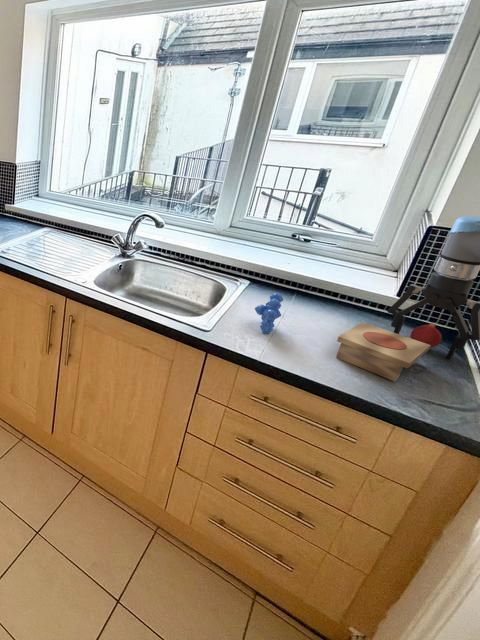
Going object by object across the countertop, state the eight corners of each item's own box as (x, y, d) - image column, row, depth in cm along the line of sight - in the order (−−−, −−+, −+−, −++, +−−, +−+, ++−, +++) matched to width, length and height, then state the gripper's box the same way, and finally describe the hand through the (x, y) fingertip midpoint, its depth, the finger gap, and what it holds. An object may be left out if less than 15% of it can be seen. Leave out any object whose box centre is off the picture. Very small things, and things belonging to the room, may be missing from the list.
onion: (405, 347, 118) (417, 323, 115) (406, 339, 122) (418, 315, 119) (434, 356, 114) (447, 331, 111) (435, 348, 118) (448, 324, 115)
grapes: (252, 317, 133) (262, 283, 128) (277, 324, 129) (289, 290, 124) (245, 332, 125) (257, 297, 120) (273, 341, 121) (285, 304, 116)
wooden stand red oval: (421, 364, 110) (431, 344, 108) (400, 384, 102) (410, 362, 100) (355, 340, 121) (362, 321, 119) (331, 355, 114) (338, 335, 112)
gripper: (390, 263, 118) (363, 332, 125) (519, 295, 99) (477, 372, 107) (399, 259, 121) (373, 325, 129) (525, 288, 103) (485, 364, 111)
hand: (420, 347), depth 118 cm, fingers open, 10 cm apart
